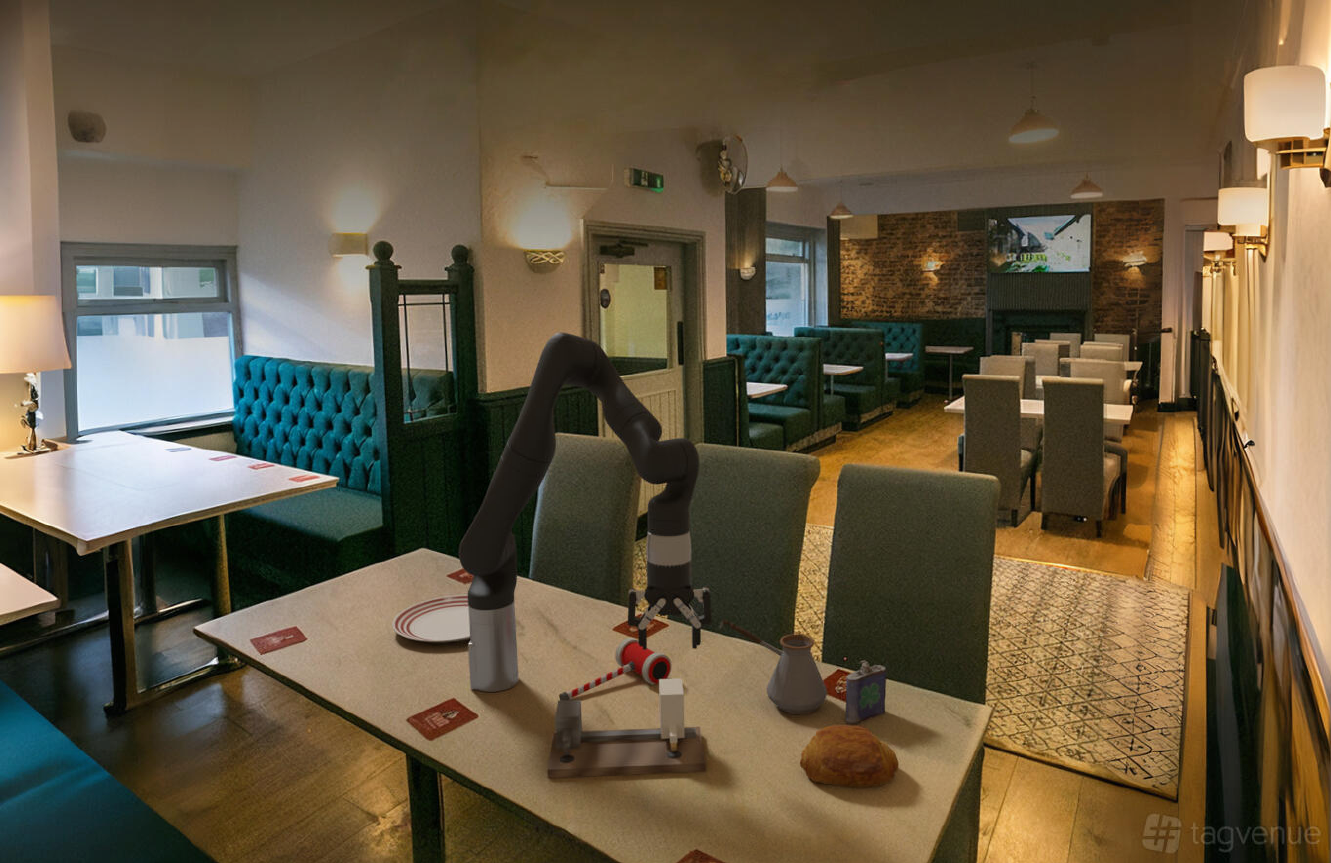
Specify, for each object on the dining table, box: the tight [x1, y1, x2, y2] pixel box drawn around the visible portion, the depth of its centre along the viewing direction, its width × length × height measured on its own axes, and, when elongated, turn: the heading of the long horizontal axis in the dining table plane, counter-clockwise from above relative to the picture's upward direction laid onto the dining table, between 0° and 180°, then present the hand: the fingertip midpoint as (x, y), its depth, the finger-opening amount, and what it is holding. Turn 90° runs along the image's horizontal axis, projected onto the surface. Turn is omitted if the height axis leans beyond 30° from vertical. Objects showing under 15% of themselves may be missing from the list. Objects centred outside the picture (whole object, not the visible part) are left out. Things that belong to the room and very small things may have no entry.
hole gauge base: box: [546, 699, 707, 779], centre depth 146 cm, size 26×12×8 cm, turn 92°
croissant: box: [799, 724, 899, 788], centre depth 141 cm, size 14×16×8 cm
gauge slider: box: [658, 678, 685, 751], centre depth 148 cm, size 4×10×8 cm, turn 2°
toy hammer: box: [558, 637, 672, 701], centre depth 173 cm, size 23×12×6 cm, turn 127°
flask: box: [844, 660, 888, 726], centre depth 158 cm, size 9×3×11 cm, turn 121°
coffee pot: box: [718, 618, 828, 715], centre depth 165 cm, size 21×12×15 cm, turn 65°
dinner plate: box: [391, 594, 470, 643], centre depth 205 cm, size 28×27×3 cm
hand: (669, 647), depth 147 cm, fingers open, 8 cm apart
